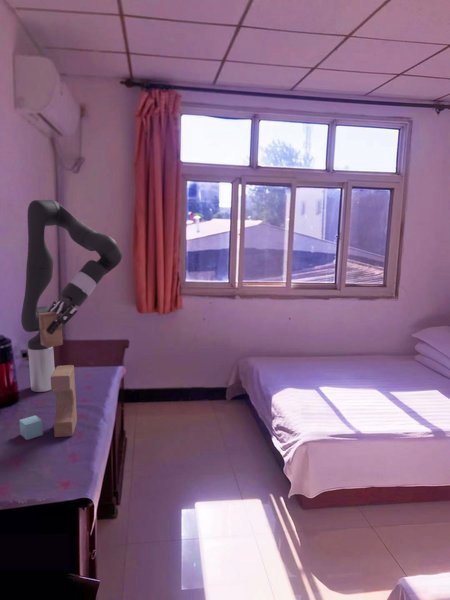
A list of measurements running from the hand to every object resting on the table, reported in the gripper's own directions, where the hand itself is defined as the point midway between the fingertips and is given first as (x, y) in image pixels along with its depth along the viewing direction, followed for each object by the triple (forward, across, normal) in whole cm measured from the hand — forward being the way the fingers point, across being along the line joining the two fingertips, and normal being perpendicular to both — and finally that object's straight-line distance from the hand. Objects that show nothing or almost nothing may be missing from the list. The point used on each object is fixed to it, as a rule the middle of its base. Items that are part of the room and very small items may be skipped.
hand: (45, 331), depth 138 cm
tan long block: (+2, 0, +5) cm, 5 cm away
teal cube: (+28, -2, +19) cm, 33 cm away
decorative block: (+21, +2, +26) cm, 33 cm away
